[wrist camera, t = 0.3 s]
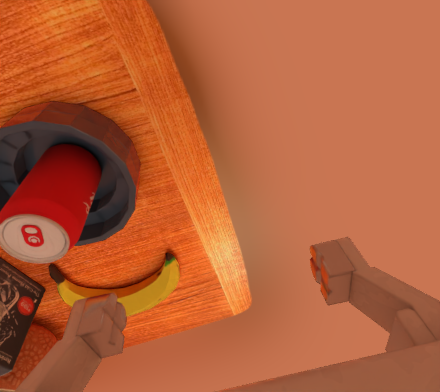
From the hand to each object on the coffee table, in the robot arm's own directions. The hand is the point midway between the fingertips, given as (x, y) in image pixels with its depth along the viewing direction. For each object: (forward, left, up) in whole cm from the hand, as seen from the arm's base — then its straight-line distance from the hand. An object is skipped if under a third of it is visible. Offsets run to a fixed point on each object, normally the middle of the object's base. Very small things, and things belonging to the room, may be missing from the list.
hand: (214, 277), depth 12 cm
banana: (+22, -16, -23) cm, 36 cm away
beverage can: (+4, -14, -23) cm, 28 cm away
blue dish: (+4, -14, -23) cm, 28 cm away
